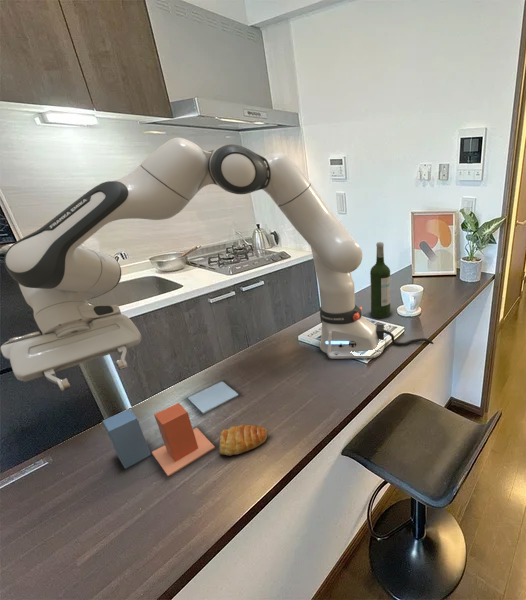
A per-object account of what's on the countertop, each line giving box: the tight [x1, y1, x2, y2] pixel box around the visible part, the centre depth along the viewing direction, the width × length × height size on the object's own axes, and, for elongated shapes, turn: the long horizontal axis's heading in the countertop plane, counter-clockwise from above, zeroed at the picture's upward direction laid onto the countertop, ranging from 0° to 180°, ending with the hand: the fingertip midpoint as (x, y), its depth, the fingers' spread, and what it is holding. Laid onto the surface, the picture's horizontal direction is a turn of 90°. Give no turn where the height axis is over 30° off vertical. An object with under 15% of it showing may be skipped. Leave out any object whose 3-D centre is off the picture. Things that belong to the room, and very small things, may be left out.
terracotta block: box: [153, 402, 198, 462], centre depth 68 cm, size 4×4×10 cm
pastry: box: [219, 423, 268, 456], centre depth 71 cm, size 9×7×4 cm
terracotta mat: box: [151, 427, 216, 478], centre depth 70 cm, size 9×9×1 cm
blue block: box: [102, 408, 152, 470], centre depth 67 cm, size 4×4×10 cm
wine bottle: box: [369, 241, 391, 319], centre depth 129 cm, size 8×8×30 cm
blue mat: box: [187, 380, 239, 415], centre depth 86 cm, size 9×9×1 cm
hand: (96, 377), depth 69 cm, fingers open, 8 cm apart
